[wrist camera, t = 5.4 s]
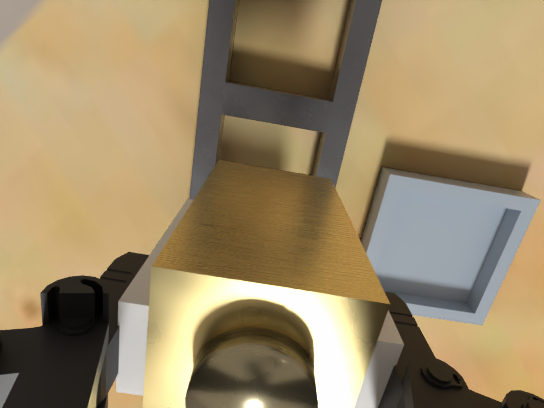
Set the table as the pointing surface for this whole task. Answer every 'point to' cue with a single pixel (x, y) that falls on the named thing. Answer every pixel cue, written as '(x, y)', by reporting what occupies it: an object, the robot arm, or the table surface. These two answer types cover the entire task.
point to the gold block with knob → (261, 298)
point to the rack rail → (279, 92)
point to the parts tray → (444, 241)
